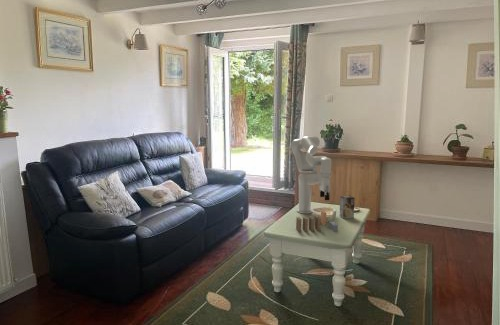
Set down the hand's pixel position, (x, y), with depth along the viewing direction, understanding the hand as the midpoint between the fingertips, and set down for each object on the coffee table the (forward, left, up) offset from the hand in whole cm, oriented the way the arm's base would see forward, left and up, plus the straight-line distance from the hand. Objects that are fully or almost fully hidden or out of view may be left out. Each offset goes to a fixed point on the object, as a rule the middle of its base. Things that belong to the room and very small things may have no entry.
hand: (324, 198), depth 257 cm
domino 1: (+12, -22, -19) cm, 31 cm away
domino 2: (+12, -18, -19) cm, 28 cm away
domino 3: (+12, -13, -19) cm, 26 cm away
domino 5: (0, 0, -19) cm, 19 cm away
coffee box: (-12, +23, -19) cm, 32 cm away
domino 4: (+12, -9, -19) cm, 24 cm away
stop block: (+12, +3, -19) cm, 22 cm away
